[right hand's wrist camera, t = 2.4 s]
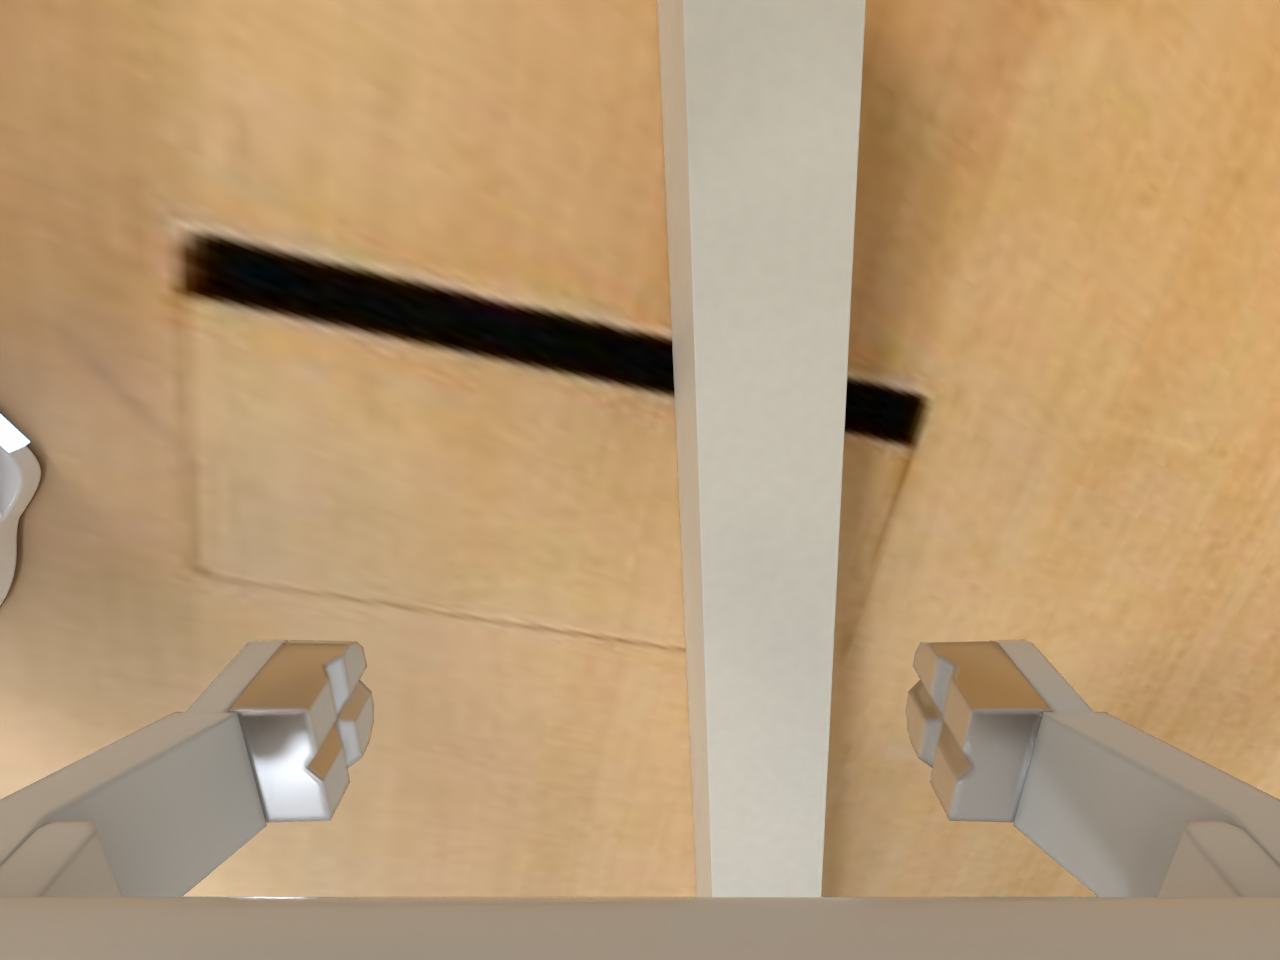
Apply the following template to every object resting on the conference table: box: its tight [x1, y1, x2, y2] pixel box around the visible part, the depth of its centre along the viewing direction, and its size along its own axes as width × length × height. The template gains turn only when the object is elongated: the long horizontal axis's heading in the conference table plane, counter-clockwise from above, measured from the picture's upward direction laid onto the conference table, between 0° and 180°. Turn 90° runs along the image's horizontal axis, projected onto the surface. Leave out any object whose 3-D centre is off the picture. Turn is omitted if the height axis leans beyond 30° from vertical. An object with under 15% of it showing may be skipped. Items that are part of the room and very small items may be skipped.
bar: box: [657, 0, 866, 897], centre depth 33 cm, size 59×5×9 cm, turn 3°
